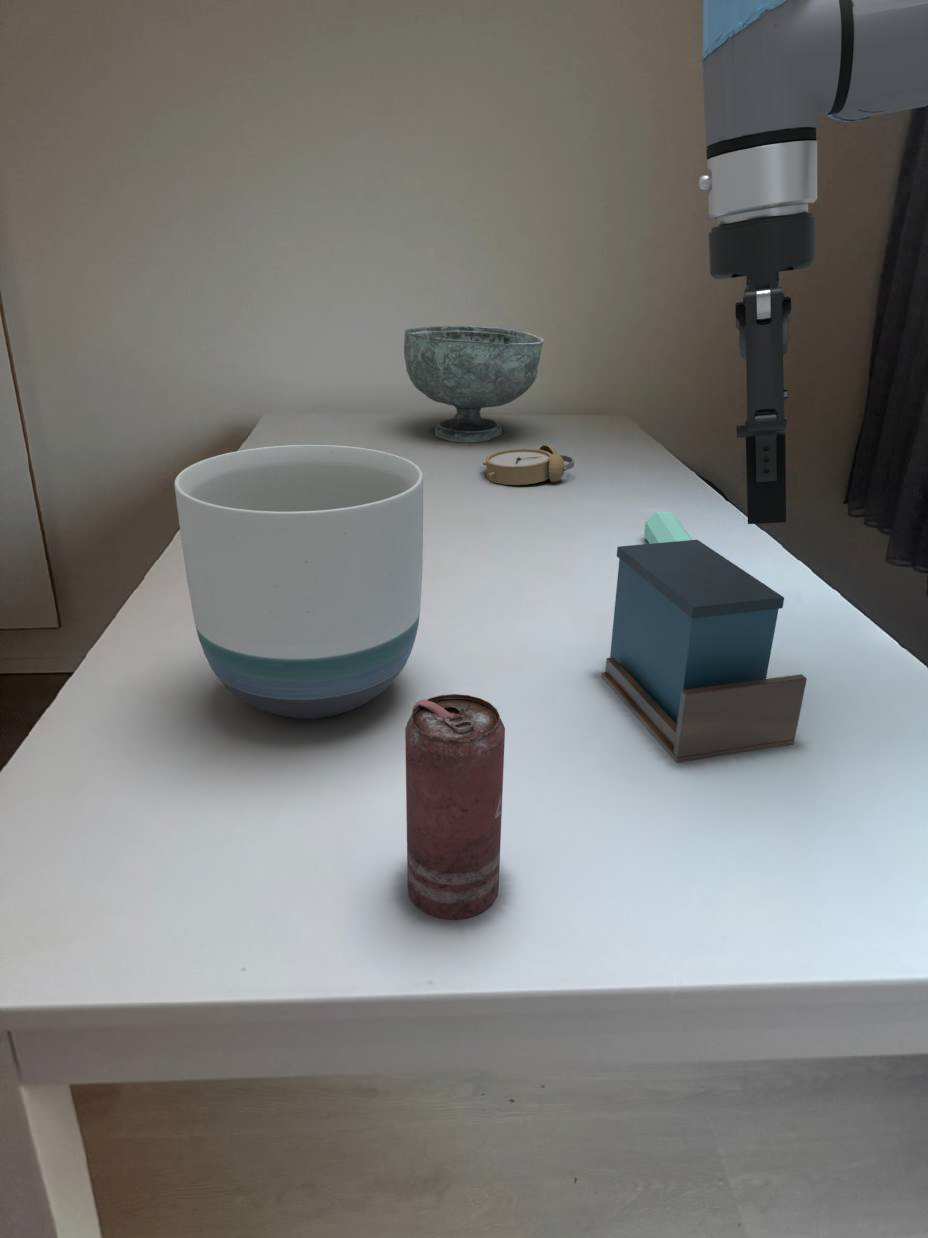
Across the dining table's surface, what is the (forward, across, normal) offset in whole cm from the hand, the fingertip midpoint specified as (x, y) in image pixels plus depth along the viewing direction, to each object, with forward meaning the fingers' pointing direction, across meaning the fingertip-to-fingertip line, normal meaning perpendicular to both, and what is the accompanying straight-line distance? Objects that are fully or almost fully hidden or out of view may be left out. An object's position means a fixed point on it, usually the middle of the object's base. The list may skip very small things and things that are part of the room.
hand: (766, 500), depth 73 cm
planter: (+15, +7, -40) cm, 44 cm away
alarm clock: (+12, -72, -38) cm, 82 cm away
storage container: (+18, -3, -8) cm, 20 cm away
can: (+19, +28, -21) cm, 40 cm away
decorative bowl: (+8, -98, -55) cm, 113 cm away
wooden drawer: (+20, -1, -7) cm, 21 cm away
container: (+18, -35, -10) cm, 41 cm away
